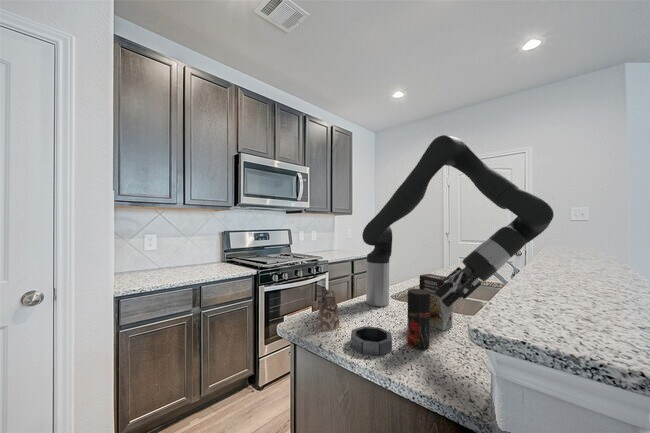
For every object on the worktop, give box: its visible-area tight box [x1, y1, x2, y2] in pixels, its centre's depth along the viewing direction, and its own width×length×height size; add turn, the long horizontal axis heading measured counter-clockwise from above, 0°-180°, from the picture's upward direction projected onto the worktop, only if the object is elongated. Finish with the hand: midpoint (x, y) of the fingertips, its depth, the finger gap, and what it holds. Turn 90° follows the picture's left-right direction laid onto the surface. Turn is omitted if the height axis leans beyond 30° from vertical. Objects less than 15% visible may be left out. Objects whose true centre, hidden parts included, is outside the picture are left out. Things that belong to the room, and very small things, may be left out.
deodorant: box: [406, 288, 431, 351], centre depth 79 cm, size 6×6×15 cm
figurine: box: [316, 287, 340, 332], centre depth 91 cm, size 7×7×12 cm
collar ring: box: [350, 326, 393, 357], centre depth 78 cm, size 11×11×3 cm
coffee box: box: [418, 273, 454, 331], centre depth 94 cm, size 9×6×16 cm
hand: (440, 299), depth 78 cm, fingers open, 8 cm apart
